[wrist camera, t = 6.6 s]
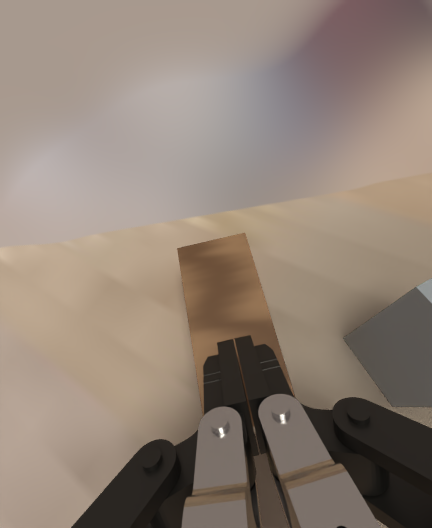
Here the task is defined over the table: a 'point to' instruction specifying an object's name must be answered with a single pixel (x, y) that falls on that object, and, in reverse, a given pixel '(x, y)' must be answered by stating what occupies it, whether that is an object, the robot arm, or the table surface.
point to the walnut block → (224, 301)
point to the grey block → (399, 348)
